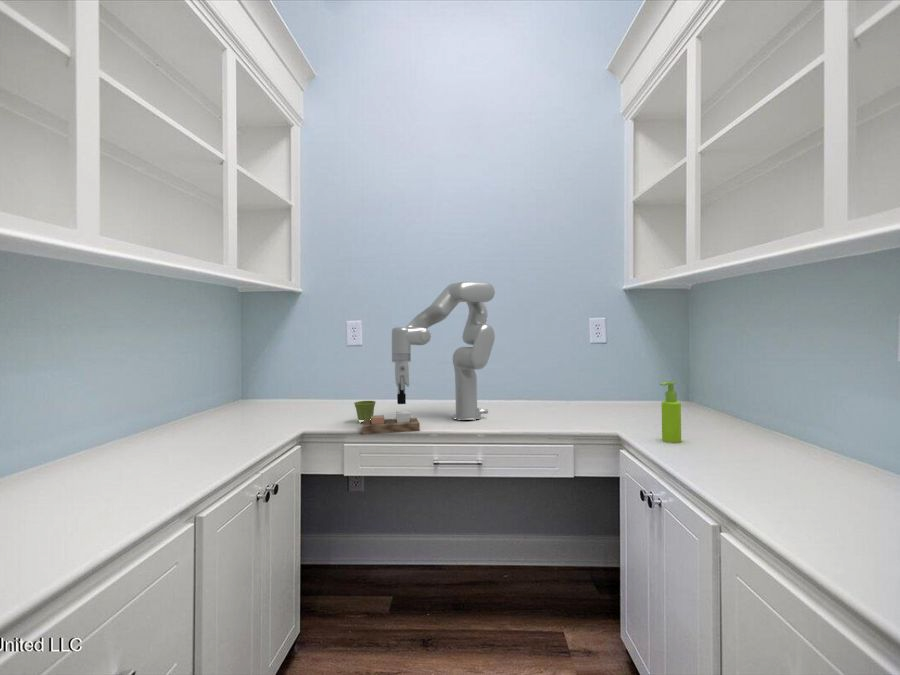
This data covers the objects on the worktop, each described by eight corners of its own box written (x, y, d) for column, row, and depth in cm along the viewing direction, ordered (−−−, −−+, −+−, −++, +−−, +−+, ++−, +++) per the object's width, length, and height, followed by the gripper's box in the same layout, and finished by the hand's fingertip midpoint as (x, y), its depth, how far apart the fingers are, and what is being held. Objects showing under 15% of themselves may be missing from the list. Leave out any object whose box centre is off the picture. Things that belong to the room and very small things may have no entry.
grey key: (408, 420, 187) (408, 411, 187) (409, 423, 182) (409, 413, 182) (396, 421, 186) (396, 411, 186) (397, 424, 181) (396, 413, 181)
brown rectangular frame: (416, 424, 191) (416, 417, 191) (419, 430, 179) (419, 423, 179) (362, 427, 187) (362, 420, 187) (362, 434, 175) (362, 426, 175)
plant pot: (369, 424, 193) (369, 404, 193) (350, 423, 196) (349, 403, 196) (380, 420, 202) (379, 400, 202) (361, 419, 205) (360, 400, 205)
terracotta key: (384, 424, 185) (383, 415, 185) (384, 427, 180) (384, 417, 180) (371, 425, 184) (371, 415, 184) (371, 428, 179) (371, 418, 179)
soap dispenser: (655, 440, 157) (655, 381, 156) (671, 438, 159) (670, 380, 159) (669, 444, 151) (668, 383, 151) (685, 441, 154) (684, 382, 153)
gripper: (412, 358, 177) (412, 406, 177) (408, 357, 191) (409, 400, 192) (392, 359, 175) (393, 407, 176) (390, 357, 190) (391, 401, 190)
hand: (401, 403), depth 184 cm, fingers closed
